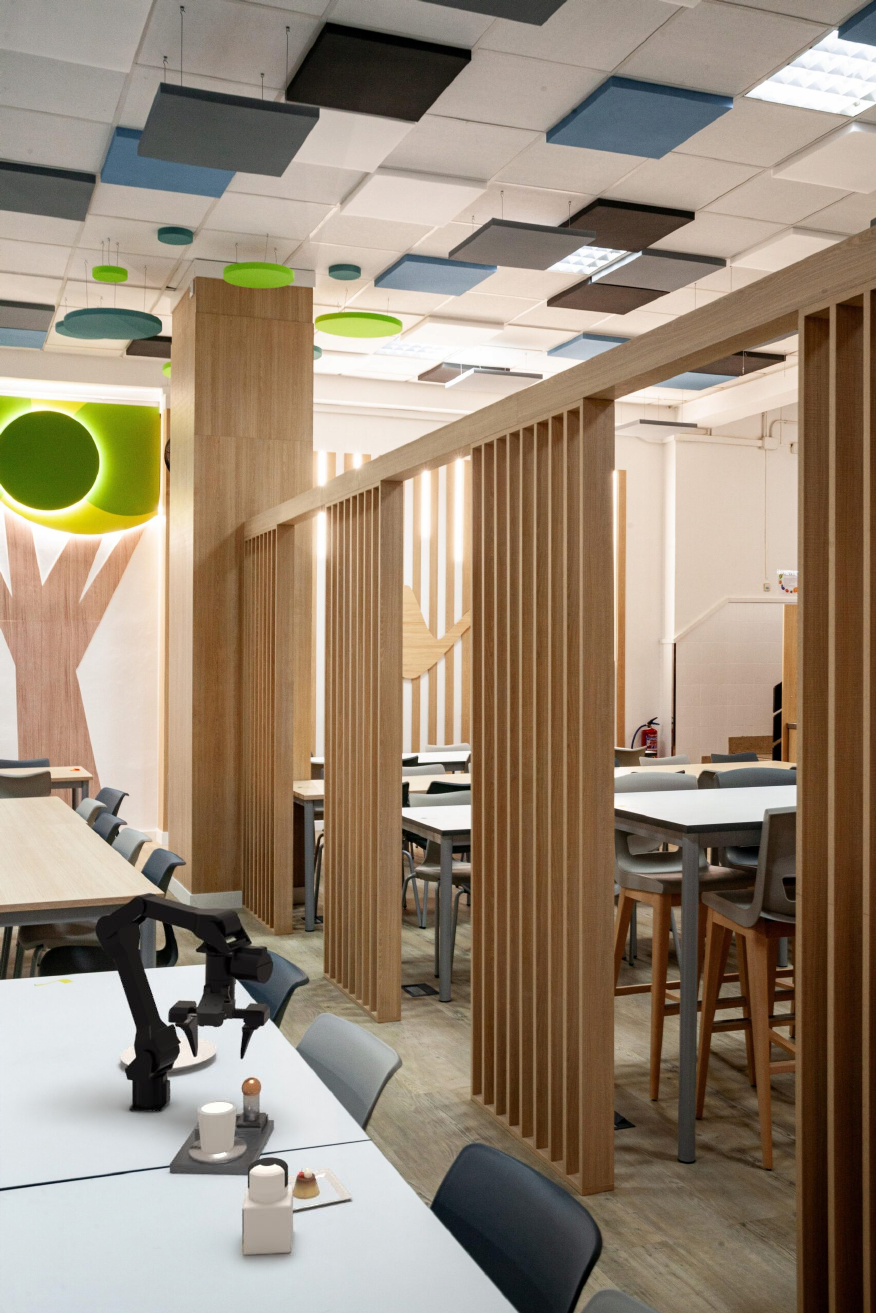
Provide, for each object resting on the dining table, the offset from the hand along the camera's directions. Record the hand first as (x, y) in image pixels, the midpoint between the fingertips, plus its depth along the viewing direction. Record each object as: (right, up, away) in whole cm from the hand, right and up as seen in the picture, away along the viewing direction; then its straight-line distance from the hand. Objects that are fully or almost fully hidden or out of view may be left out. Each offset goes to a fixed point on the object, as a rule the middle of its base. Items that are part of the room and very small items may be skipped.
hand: (218, 1057), depth 219 cm
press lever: (+8, -10, -9) cm, 15 cm away
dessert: (+21, -12, -32) cm, 40 cm away
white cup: (+4, -9, -19) cm, 22 cm away
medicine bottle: (+17, -11, -49) cm, 53 cm away
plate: (-17, -13, +33) cm, 39 cm away
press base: (+4, -11, -15) cm, 19 cm away
